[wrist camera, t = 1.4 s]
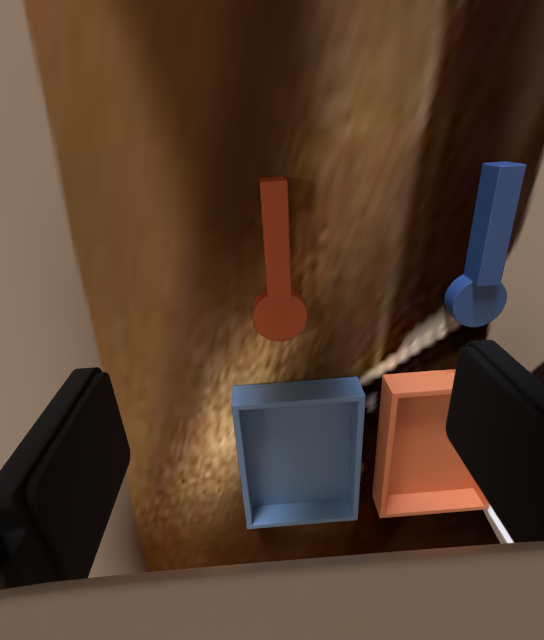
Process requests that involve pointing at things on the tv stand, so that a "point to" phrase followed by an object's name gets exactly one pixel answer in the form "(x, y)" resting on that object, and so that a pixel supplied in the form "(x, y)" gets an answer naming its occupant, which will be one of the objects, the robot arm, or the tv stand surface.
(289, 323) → the terracotta spoon
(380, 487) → the terracotta tray
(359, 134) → the tv stand surface
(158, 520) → the tv stand surface
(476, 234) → the blue spoon
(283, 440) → the blue tray
